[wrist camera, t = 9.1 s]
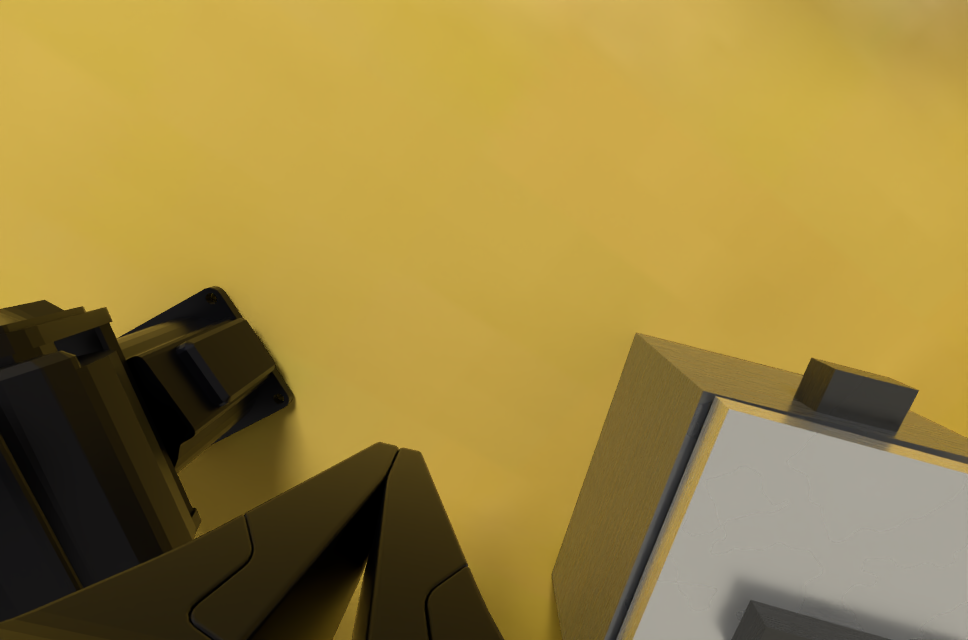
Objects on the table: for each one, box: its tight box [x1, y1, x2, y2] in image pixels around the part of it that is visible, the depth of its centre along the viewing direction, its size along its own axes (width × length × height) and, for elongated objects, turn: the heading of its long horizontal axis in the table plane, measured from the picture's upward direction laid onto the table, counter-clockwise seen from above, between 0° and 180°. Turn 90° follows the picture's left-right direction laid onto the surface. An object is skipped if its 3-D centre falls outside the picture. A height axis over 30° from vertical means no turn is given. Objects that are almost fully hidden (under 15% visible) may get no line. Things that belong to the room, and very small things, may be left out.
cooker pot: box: [552, 333, 968, 640], centre depth 20 cm, size 12×17×7 cm
